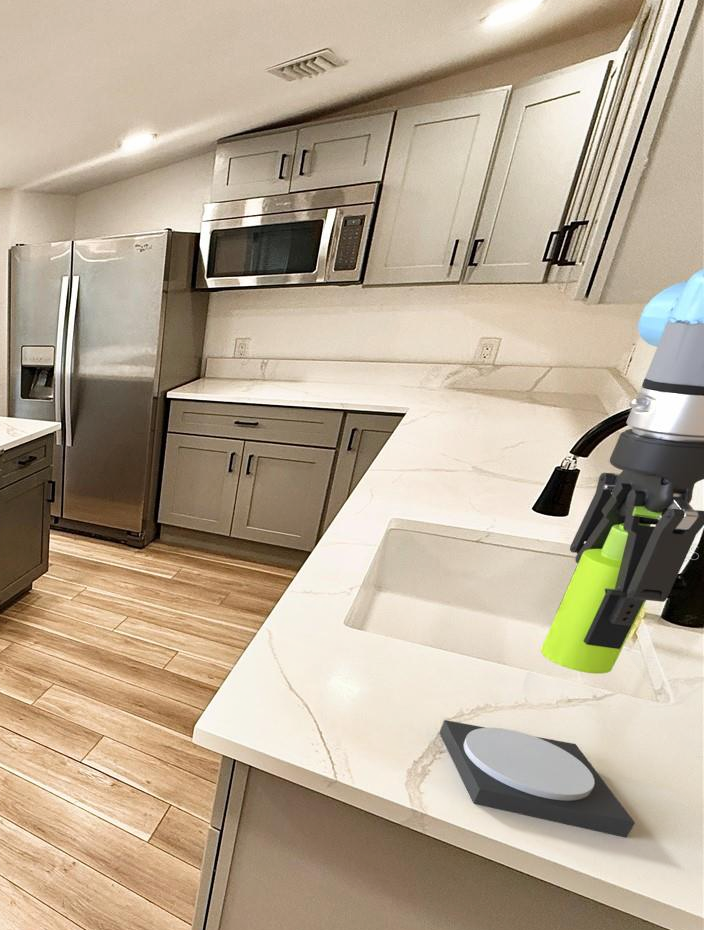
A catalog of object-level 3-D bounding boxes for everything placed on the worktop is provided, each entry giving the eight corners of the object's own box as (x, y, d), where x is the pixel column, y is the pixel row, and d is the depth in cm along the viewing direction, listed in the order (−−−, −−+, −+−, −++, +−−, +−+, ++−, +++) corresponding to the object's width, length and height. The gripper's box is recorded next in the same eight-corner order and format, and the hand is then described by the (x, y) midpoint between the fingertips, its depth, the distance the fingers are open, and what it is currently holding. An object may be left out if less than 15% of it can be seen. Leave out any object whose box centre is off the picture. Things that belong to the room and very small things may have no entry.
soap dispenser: (537, 664, 72) (607, 504, 64) (543, 640, 76) (609, 487, 68) (610, 684, 68) (695, 516, 60) (612, 658, 72) (691, 498, 64)
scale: (568, 757, 83) (578, 737, 81) (626, 837, 71) (639, 816, 70) (439, 732, 88) (446, 714, 87) (473, 803, 77) (482, 783, 75)
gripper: (580, 412, 71) (511, 589, 80) (685, 455, 55) (583, 668, 64) (672, 414, 68) (588, 598, 77) (810, 460, 52) (684, 683, 61)
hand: (586, 630), depth 71 cm, fingers closed on soap dispenser, 6 cm apart
